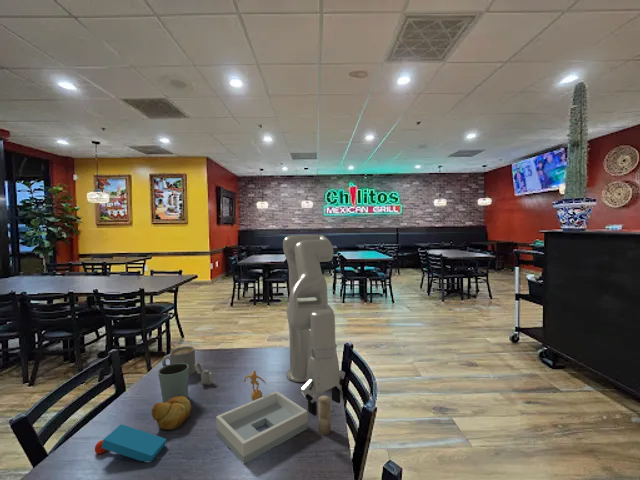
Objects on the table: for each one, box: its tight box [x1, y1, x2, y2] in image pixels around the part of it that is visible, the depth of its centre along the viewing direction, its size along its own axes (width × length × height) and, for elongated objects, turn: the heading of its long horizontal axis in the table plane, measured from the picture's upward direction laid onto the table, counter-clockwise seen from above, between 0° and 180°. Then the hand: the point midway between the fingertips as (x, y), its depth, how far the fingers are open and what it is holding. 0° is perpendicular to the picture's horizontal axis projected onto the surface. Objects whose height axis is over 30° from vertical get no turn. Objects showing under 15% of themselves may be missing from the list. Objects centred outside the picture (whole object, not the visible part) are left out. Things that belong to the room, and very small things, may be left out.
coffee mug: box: [161, 345, 196, 377], centre depth 139 cm, size 13×10×10 cm
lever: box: [94, 423, 167, 462], centre depth 89 cm, size 7×7×18 cm
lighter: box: [194, 362, 213, 386], centre depth 129 cm, size 7×2×8 cm, turn 76°
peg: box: [317, 395, 331, 436], centre depth 96 cm, size 4×4×10 cm
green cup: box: [157, 363, 189, 403], centre depth 116 cm, size 10×10×12 cm
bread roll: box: [151, 396, 192, 431], centre depth 103 cm, size 13×10×8 cm
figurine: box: [243, 370, 267, 401], centre depth 113 cm, size 8×6×12 cm
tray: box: [215, 390, 309, 464], centre depth 97 cm, size 22×17×6 cm
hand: (324, 407), depth 96 cm, fingers open, 9 cm apart
